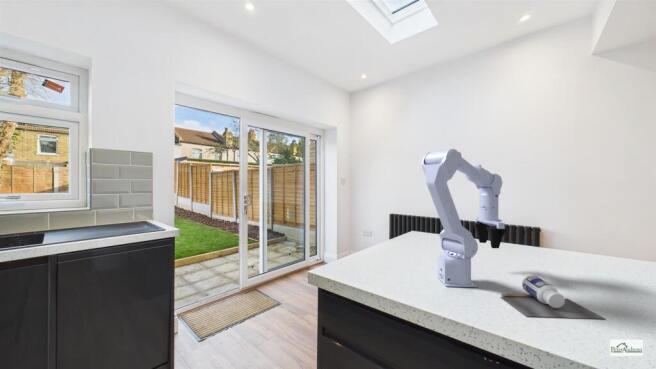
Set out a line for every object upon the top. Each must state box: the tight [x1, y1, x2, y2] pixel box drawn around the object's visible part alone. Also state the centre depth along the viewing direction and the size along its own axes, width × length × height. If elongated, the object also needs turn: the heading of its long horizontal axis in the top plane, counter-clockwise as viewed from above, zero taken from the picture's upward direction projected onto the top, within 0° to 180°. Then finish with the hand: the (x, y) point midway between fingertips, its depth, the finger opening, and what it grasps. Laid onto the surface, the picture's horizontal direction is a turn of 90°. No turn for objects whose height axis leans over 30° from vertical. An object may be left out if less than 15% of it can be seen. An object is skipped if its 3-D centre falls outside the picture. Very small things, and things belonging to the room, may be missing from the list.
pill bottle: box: [521, 274, 566, 308], centre depth 68 cm, size 5×5×9 cm
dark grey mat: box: [500, 293, 606, 320], centre depth 66 cm, size 18×11×1 cm, turn 86°
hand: (488, 245), depth 88 cm, fingers open, 7 cm apart
